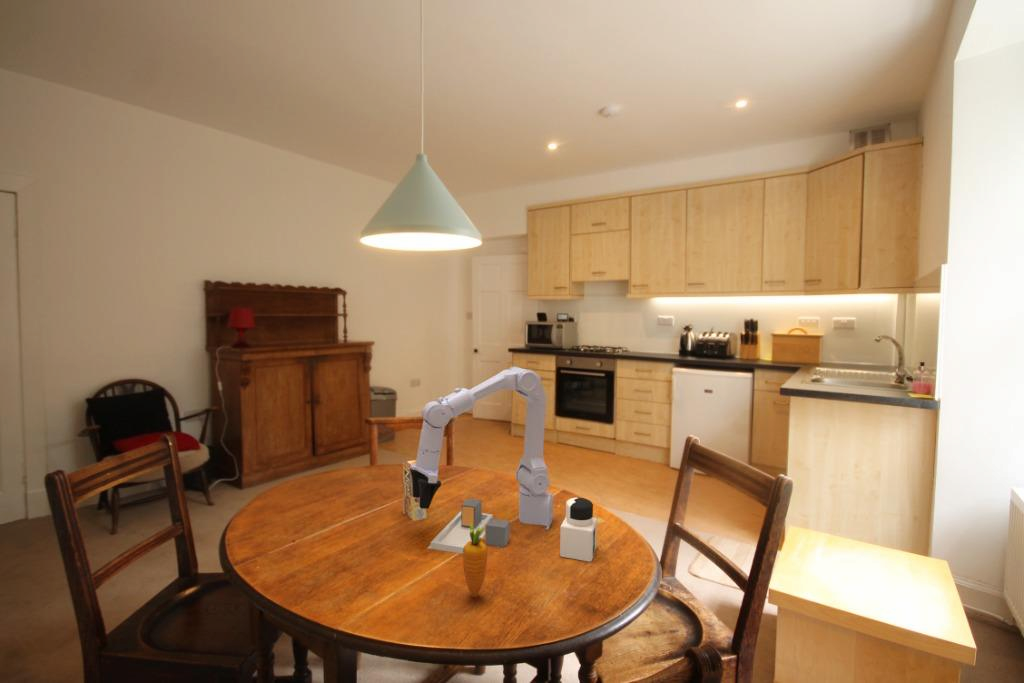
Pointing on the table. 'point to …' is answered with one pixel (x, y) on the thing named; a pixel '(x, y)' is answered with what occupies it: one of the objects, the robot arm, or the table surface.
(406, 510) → the candy box
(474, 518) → the grey toy block
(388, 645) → the table surface
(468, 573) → the carrot
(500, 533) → the grey block orange top
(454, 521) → the white tray
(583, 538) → the container
